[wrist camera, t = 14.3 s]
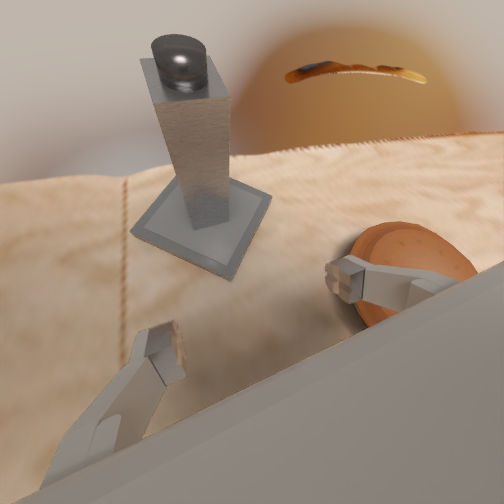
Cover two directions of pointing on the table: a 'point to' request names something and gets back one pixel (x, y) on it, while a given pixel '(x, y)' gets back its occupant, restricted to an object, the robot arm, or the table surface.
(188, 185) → the knob-topped square pillar
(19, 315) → the table surface
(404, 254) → the pie
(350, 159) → the table surface
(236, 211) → the rest tile
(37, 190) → the table surface
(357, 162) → the table surface
